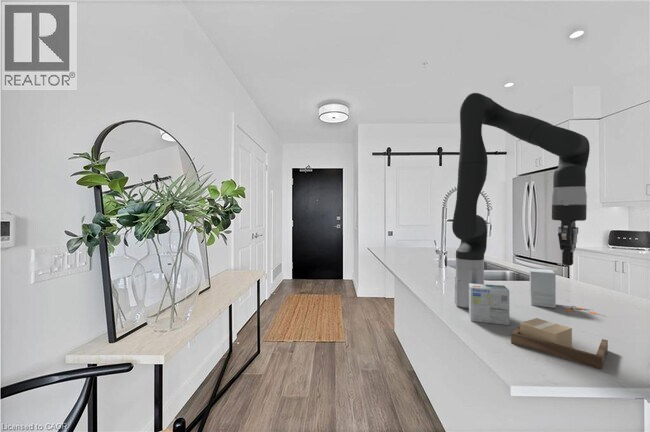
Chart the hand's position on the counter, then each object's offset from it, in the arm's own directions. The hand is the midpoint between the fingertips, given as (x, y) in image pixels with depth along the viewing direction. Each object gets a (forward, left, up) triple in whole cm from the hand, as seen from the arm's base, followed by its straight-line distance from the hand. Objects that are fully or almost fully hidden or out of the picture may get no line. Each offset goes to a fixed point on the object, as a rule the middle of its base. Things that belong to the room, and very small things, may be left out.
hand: (567, 264), depth 82 cm
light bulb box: (-19, +4, -19) cm, 27 cm away
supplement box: (+4, +28, -19) cm, 34 cm away
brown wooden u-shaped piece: (-7, -12, -19) cm, 23 cm away
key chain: (+14, +24, -20) cm, 34 cm away
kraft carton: (-9, -11, -19) cm, 24 cm away
